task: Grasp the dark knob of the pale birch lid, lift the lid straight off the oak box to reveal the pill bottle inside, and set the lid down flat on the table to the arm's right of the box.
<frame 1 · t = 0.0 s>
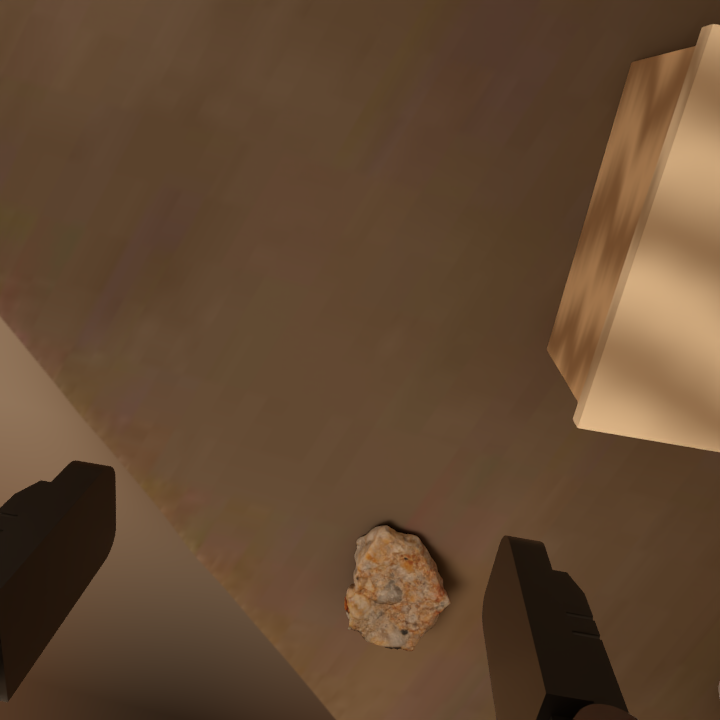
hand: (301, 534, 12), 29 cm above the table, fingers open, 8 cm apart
rock: (392, 573, 50), on the table
box: (695, 237, 37), on the table
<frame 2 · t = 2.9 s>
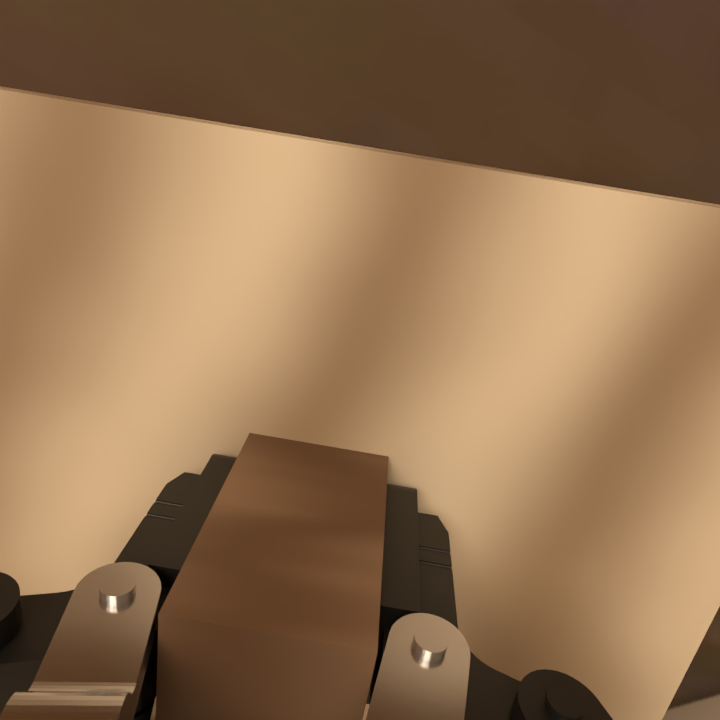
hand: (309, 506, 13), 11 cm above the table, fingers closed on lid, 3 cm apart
lid: (317, 477, 14), point 9 cm above the table, touching box, gripper
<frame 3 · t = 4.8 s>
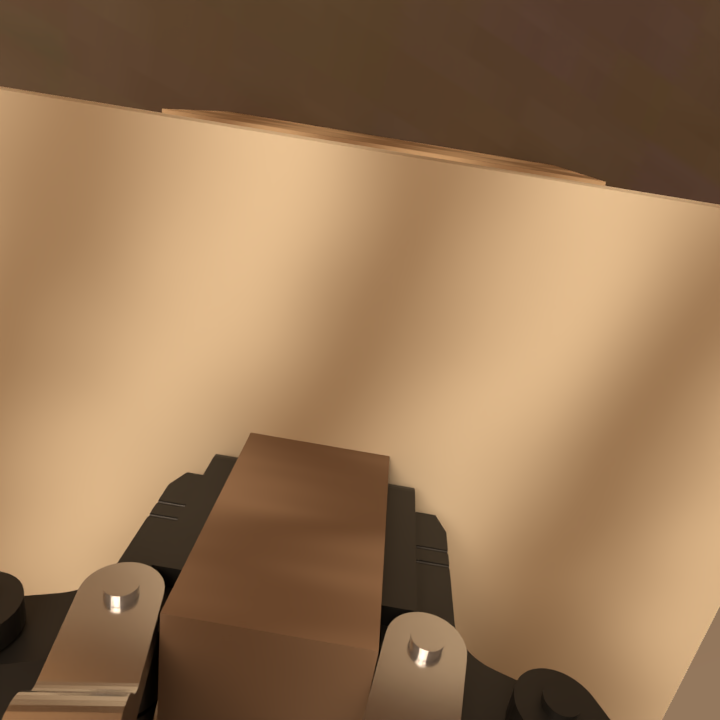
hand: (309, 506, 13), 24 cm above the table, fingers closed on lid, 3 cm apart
box: (369, 262, 35), on the table
lid: (318, 476, 14), point 23 cm above the table, touching gripper
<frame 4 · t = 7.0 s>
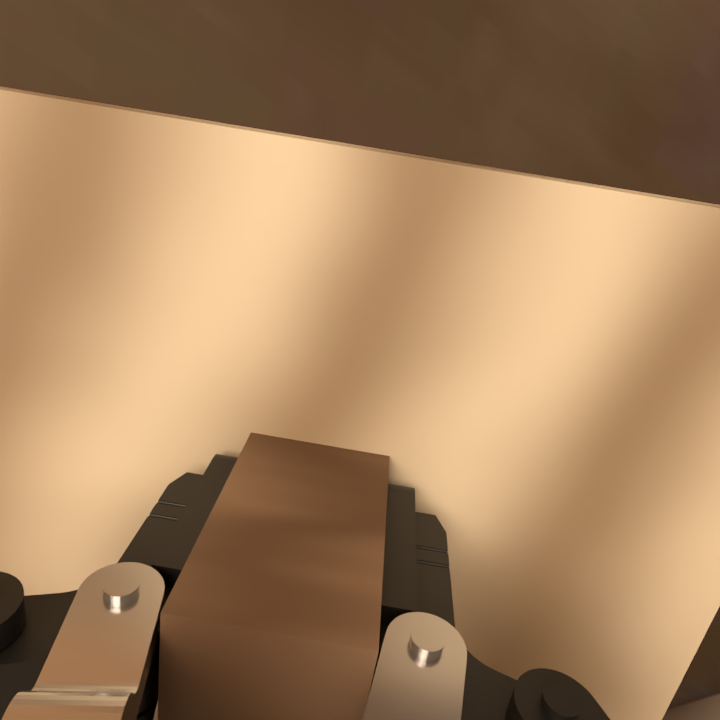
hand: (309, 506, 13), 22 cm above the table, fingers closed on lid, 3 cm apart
lid: (318, 476, 14), point 20 cm above the table, touching gripper
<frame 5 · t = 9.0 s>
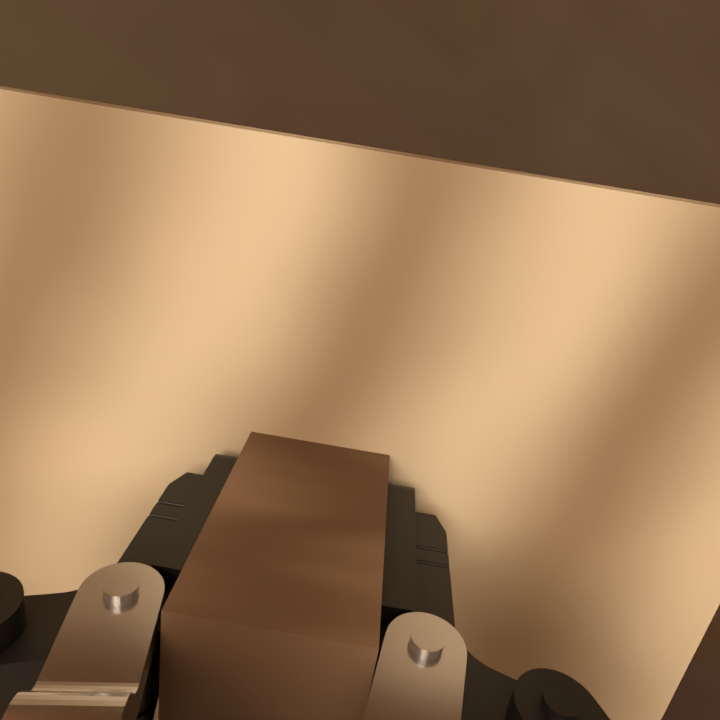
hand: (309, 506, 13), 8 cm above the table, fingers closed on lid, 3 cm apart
lid: (318, 475, 14), point 7 cm above the table, touching gripper
when the fingers open (2 cm above the table, at t = 10.6 s): lid drops 2 cm, on the table.
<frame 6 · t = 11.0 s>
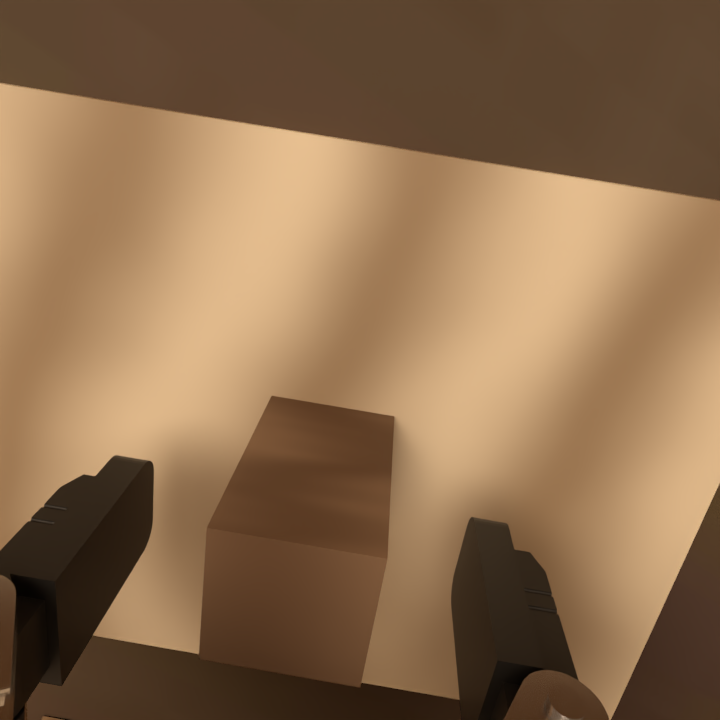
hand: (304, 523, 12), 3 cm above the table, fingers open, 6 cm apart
lid: (330, 438, 16), on the table
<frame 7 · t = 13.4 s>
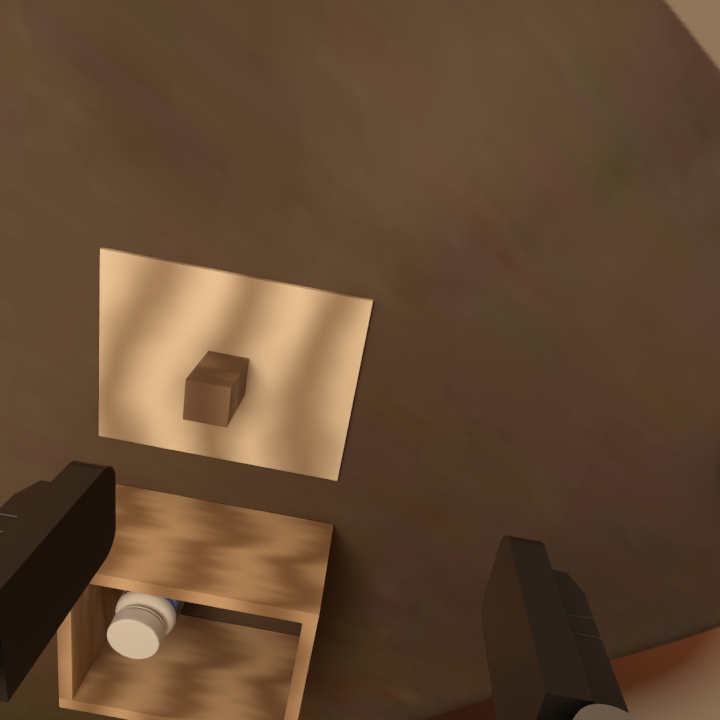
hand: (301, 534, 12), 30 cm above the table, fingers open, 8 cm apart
box: (218, 569, 51), on the table
lid: (230, 367, 45), on the table
pill bottle: (173, 559, 52), resting in box
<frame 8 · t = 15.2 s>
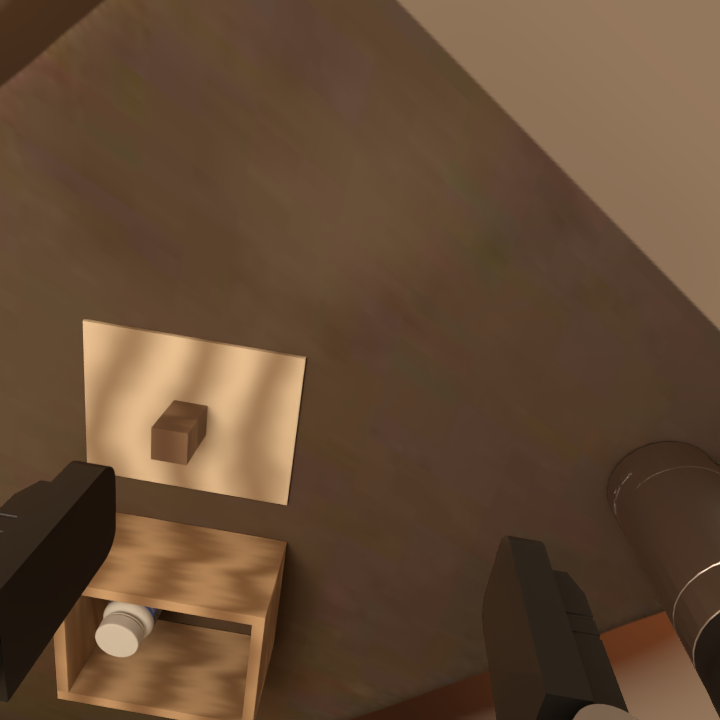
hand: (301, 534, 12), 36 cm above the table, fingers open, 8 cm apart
box: (192, 581, 60), on the table
lid: (193, 412, 54), on the table
pill bottle: (154, 573, 60), resting in box
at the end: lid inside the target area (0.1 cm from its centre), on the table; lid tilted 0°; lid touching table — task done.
